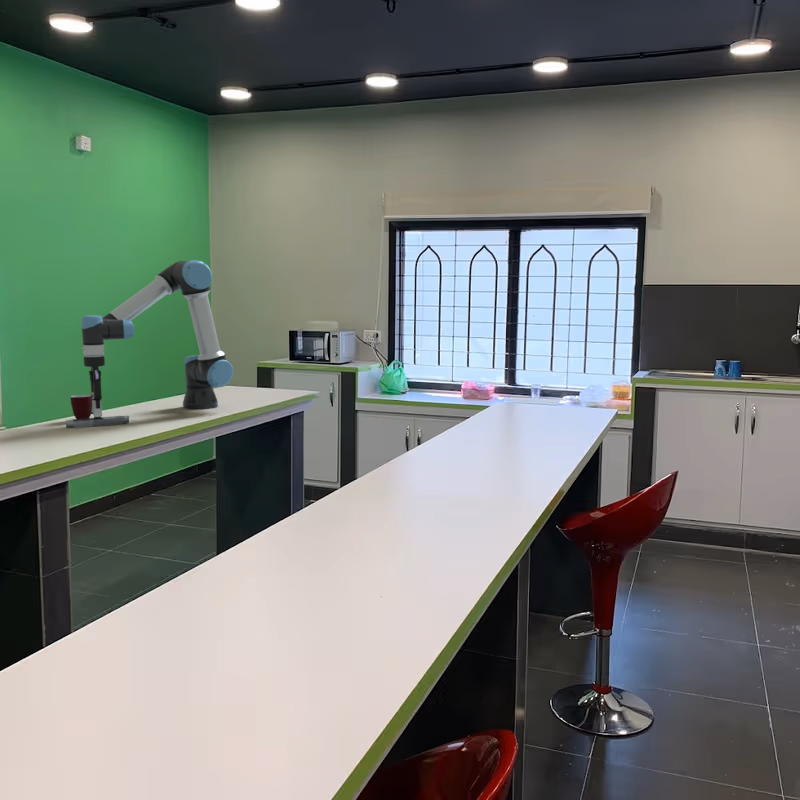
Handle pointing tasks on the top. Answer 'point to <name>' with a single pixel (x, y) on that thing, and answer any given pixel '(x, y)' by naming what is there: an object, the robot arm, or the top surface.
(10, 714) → the top surface
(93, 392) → the pin
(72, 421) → the grey rounded bar
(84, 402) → the mug
